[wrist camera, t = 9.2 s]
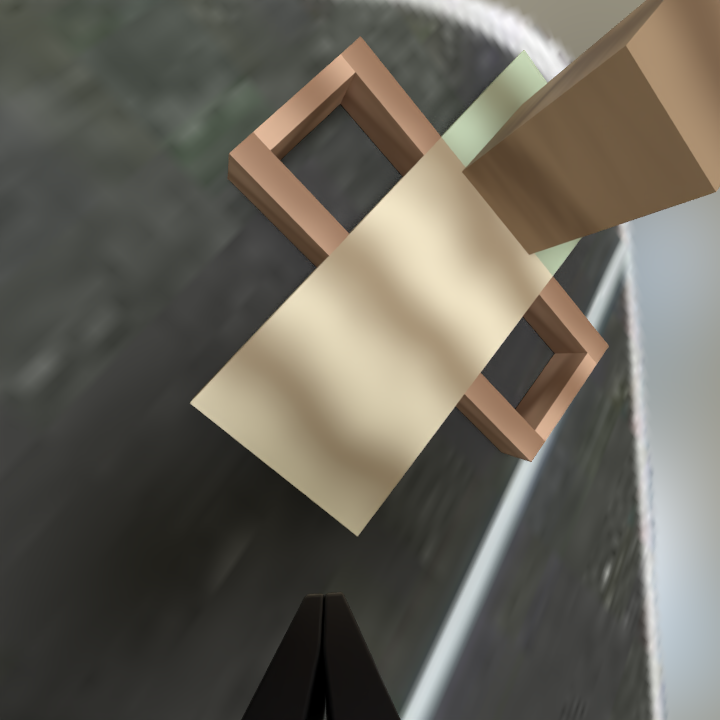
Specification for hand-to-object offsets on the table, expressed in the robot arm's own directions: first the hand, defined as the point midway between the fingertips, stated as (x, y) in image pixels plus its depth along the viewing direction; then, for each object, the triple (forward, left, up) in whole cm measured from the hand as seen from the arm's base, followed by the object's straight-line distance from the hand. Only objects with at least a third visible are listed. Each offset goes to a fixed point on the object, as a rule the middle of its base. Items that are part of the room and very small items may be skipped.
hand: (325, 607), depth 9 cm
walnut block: (+21, 0, -9) cm, 23 cm away
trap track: (+14, 0, -12) cm, 18 cm away
